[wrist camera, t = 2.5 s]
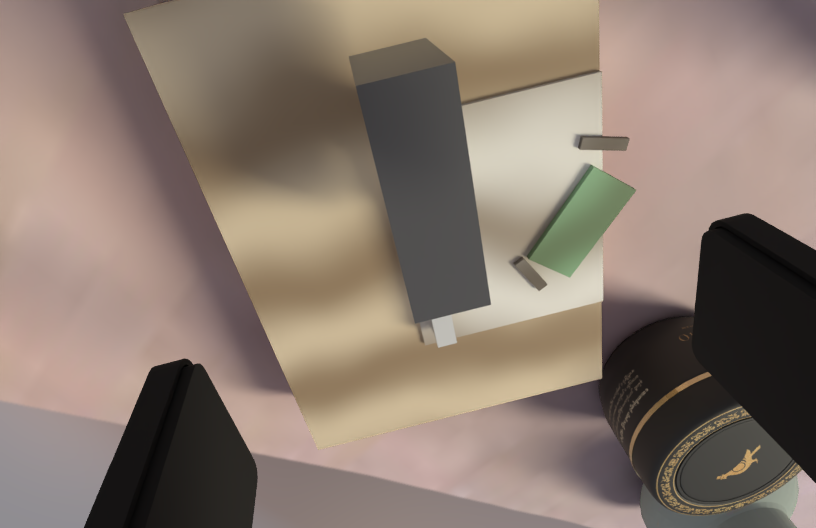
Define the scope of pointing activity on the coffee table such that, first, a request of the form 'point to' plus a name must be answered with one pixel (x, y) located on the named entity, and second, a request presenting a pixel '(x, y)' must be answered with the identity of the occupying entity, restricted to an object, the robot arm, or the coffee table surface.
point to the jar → (687, 426)
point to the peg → (425, 178)
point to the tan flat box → (364, 204)
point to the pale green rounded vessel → (753, 524)
